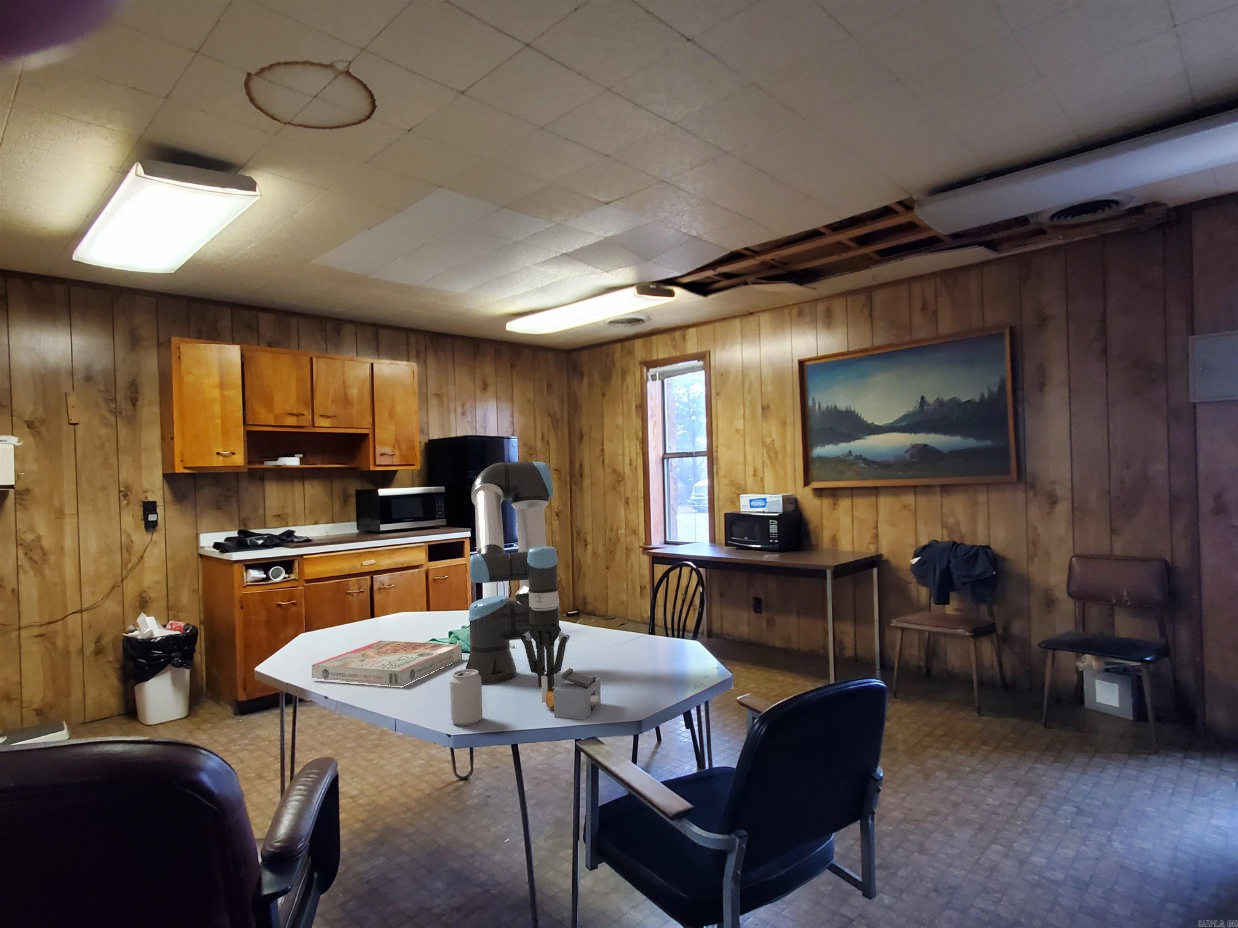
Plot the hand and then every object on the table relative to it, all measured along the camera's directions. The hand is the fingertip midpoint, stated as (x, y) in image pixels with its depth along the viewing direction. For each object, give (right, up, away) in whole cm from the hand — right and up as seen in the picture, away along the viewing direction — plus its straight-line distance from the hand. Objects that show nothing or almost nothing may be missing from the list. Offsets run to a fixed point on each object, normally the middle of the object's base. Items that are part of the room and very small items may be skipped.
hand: (546, 700), depth 178 cm
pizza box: (-54, -5, +42) cm, 68 cm away
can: (-19, -3, -8) cm, 20 cm away
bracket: (+8, -2, -3) cm, 9 cm away
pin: (+7, -1, -2) cm, 8 cm away
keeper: (+8, +6, -2) cm, 10 cm away
